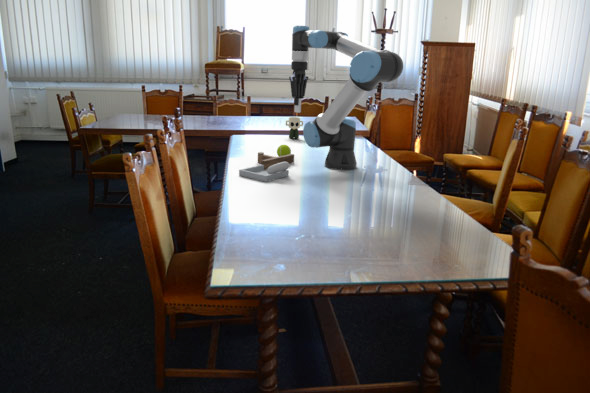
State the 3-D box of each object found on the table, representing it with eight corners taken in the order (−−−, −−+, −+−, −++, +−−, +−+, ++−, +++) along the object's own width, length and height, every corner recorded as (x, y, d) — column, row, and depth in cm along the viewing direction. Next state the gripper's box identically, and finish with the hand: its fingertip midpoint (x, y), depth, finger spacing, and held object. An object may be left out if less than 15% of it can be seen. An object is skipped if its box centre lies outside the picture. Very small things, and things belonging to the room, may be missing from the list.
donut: (284, 162, 210) (290, 158, 200) (286, 170, 210) (293, 166, 200) (263, 169, 207) (268, 165, 197) (266, 176, 207) (271, 173, 197)
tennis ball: (278, 160, 238) (279, 146, 236) (275, 157, 244) (275, 143, 242) (292, 159, 239) (292, 146, 237) (288, 156, 246) (289, 143, 244)
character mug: (285, 139, 297) (286, 118, 293) (284, 137, 304) (285, 116, 300) (302, 139, 298) (303, 118, 294) (301, 137, 304) (302, 117, 301)
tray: (288, 175, 207) (288, 170, 207) (265, 182, 196) (266, 176, 195) (262, 169, 216) (262, 164, 215) (239, 175, 204) (239, 169, 203)
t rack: (293, 162, 233) (294, 152, 232) (264, 169, 216) (264, 159, 215) (274, 158, 240) (274, 149, 239) (244, 165, 223) (244, 155, 222)
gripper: (300, 60, 229) (298, 110, 236) (284, 60, 219) (283, 112, 226) (313, 61, 225) (311, 112, 232) (298, 61, 215) (296, 114, 222)
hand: (297, 112), depth 229 cm, fingers closed
